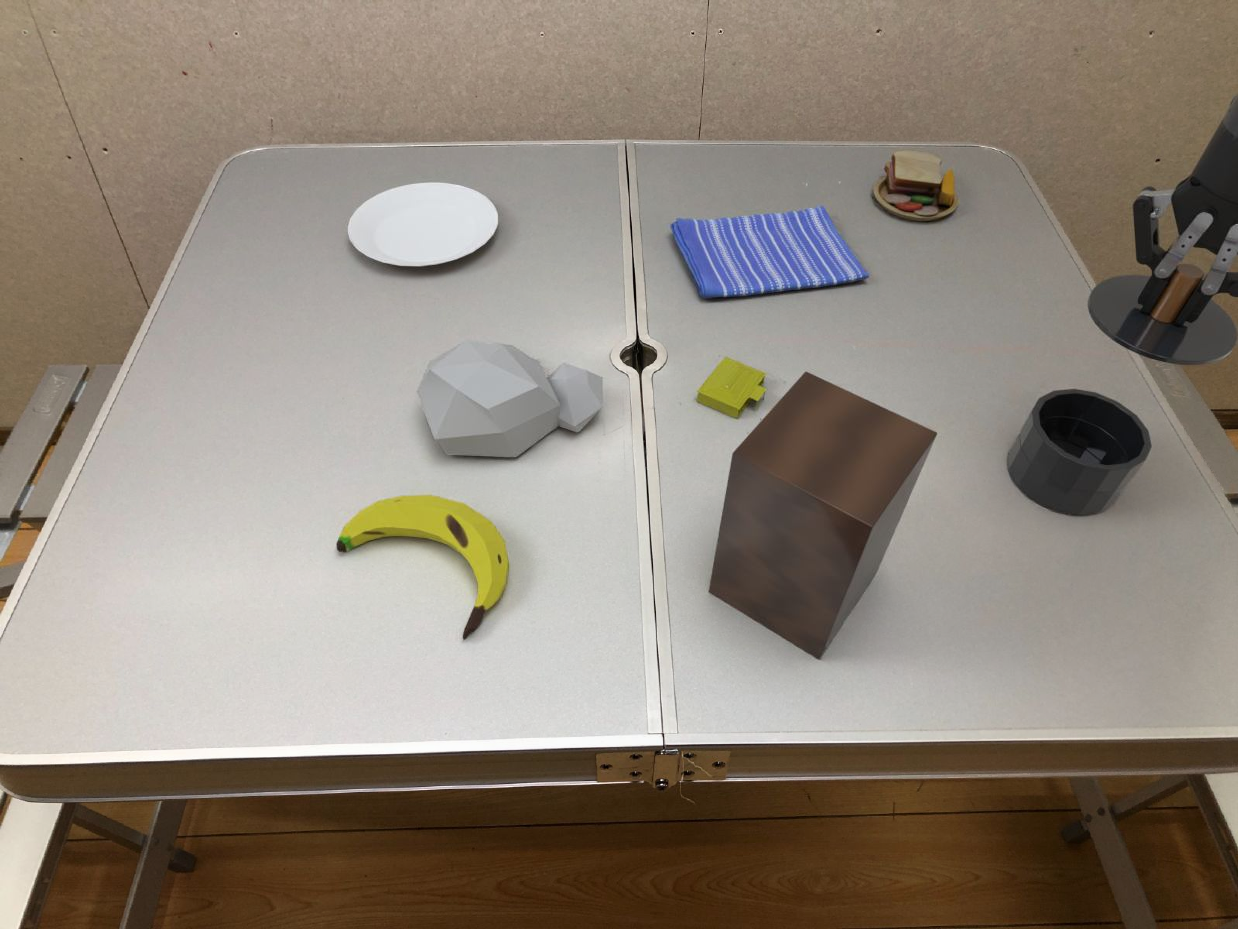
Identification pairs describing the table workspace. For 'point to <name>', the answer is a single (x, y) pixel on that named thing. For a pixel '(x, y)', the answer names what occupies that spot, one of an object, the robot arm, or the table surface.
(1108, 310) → the lid
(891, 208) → the toy sandwich meal
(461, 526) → the banana
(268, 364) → the table surface
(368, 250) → the plate
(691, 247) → the dish towel
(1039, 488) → the pot
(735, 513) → the brown rectangular block
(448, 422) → the rock
